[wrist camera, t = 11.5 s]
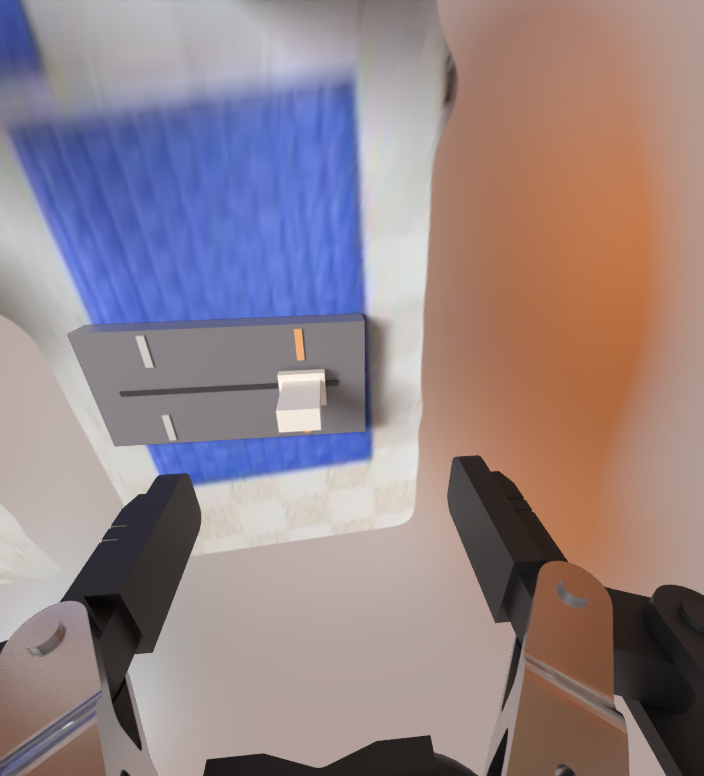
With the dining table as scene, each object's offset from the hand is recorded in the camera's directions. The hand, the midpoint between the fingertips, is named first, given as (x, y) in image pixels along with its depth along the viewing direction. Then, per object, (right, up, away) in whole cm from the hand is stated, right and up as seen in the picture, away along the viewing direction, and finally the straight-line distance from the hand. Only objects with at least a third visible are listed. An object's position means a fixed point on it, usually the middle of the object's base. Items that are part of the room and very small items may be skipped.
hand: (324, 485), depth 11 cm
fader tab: (-5, +3, +28) cm, 28 cm away
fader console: (-13, +4, +31) cm, 33 cm away
